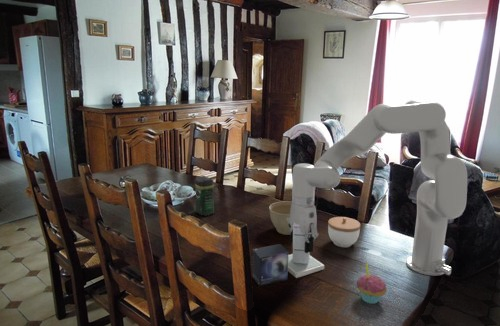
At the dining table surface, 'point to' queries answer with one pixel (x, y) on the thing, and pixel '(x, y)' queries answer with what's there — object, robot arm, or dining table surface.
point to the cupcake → (371, 287)
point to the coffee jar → (204, 195)
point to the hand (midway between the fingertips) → (301, 246)
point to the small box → (270, 264)
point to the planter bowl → (281, 216)
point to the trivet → (303, 267)
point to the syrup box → (299, 245)
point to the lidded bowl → (343, 231)
